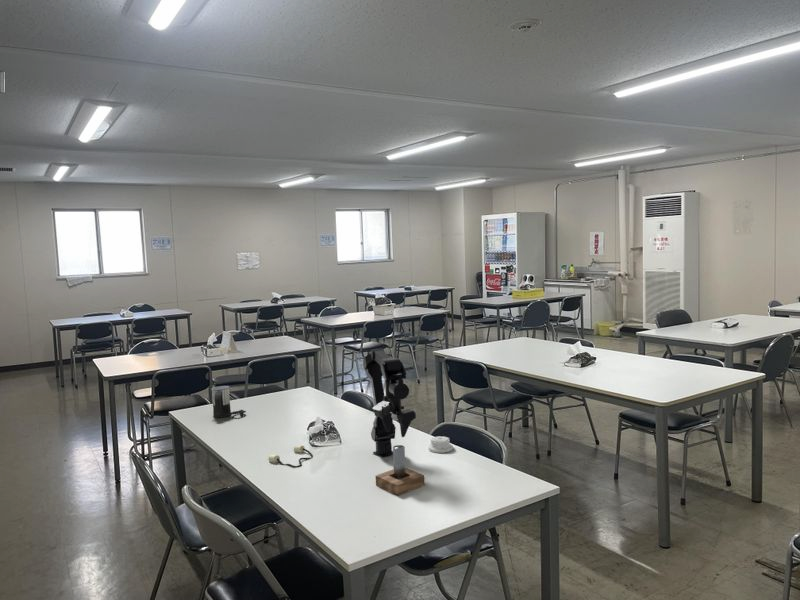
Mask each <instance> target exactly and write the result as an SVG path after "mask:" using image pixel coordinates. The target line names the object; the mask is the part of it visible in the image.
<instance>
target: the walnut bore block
mask: <svg viewBox="0 0 800 600" xmlns="http://www.w3.org/2000/svg"><path fill="white" fill-rule="evenodd" d="M405 473H406V477H405V478H402V479H400V480H398V479H395V478H394V468H393V469H390V470H388V471H384V472H382V473H379V474H376V475H375V486H377V487H379V488H381V489H382V490H383V489H384V490H385V491H387V492H389V493H391V494H394V495H395V496H400V495H402V494H405V493H408V492H410V491H414V490H416V489H418V488H420V487H423V486H425V483H426V482H425V474H422V473H419V472H417V471H415V470H413V469H410V468H407V467H406V466H405Z"/></svg>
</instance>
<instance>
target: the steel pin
mask: <svg viewBox="0 0 800 600" xmlns="http://www.w3.org/2000/svg"><path fill="white" fill-rule="evenodd" d="M392 451H393V454H392V458H393V469H394V478H395V479H398V480H400V479H402V478H405V477H406V473H405V467H406V453H405V452H406V450H405V446H404V445H399V444H396V445H394V446H392Z"/></svg>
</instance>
